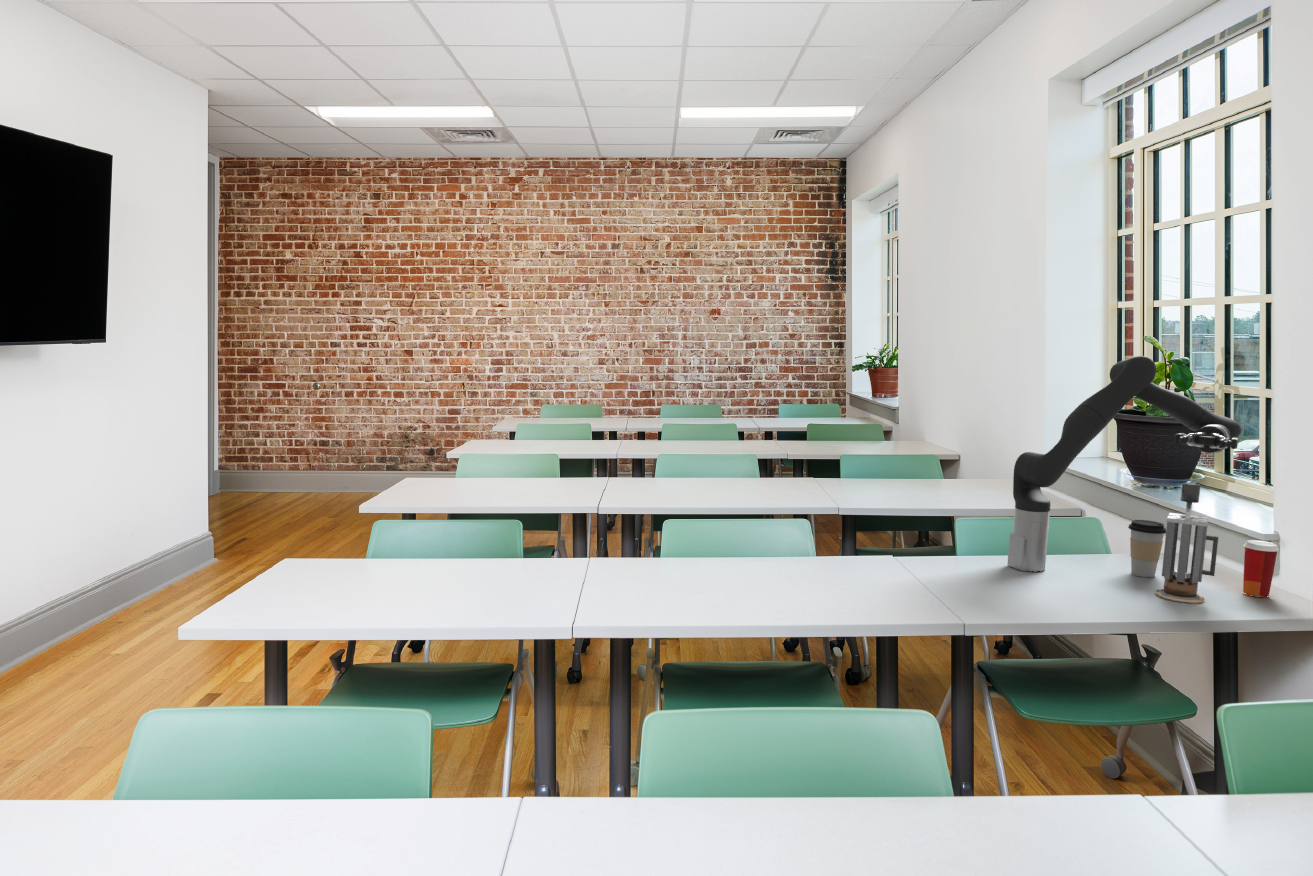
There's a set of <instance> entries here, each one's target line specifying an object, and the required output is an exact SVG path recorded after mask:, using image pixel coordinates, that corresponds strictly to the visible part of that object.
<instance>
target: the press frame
mask: <svg viewBox="0 0 1313 876" xmlns="http://www.w3.org/2000/svg"><path fill="white" fill-rule="evenodd" d="M1185 514H1186V513H1185ZM1185 514H1183V513H1174V512H1169V514H1168V515H1167V518H1166V528H1165V529H1166V533H1165V538H1164V539H1165V540H1164V549H1163V558H1162V559H1163V560H1162V570H1161V577H1164V582H1163V583H1164V584H1163V588H1158V589H1156V590H1155V591H1154V593H1155V596H1157V597H1159V598H1161V599H1164V600H1166V601H1170V602H1176V603H1182V604H1190V605H1191V604H1192V605H1193V604H1197V605H1198V604H1203V603H1204V602H1205V600H1206V598H1205V597H1204V596H1203V595H1201V594H1199V593H1198V588H1199V587H1198V585H1199V583H1202V581H1203V575H1205V576H1212V577H1215V573H1216V572H1215V571H1216V565H1217V556H1218V555H1217V554H1218V544H1219V536H1216V535H1207V534H1208V533H1207V532H1208V525H1209V523H1208V522H1209V517H1208V516H1200V515H1194V514H1193V515H1192V514H1191V519H1187V518H1185ZM1180 524H1181V530H1180V532H1181V533H1180V542H1179V549H1178V550H1179V551H1178V562H1177V569H1176V570H1177V578H1175V577H1172V572H1173V570H1175V564H1176V554H1177V545H1178V535H1179V527H1180ZM1193 526H1194V527H1195V529H1194V530H1195V531H1194V538H1193V548H1192V556H1191V567H1190V572H1191V574H1190V579H1185V574H1186V571H1187V572H1188V566H1189V555H1190V545H1191V539H1192V537H1191V536H1192V528H1193ZM1207 541H1210V542H1211V541H1212V548H1211V549H1212V551H1211V559H1210V568H1209V570H1208V569H1204V562H1205V552H1206V546H1207V545H1206V544H1207Z"/></svg>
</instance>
